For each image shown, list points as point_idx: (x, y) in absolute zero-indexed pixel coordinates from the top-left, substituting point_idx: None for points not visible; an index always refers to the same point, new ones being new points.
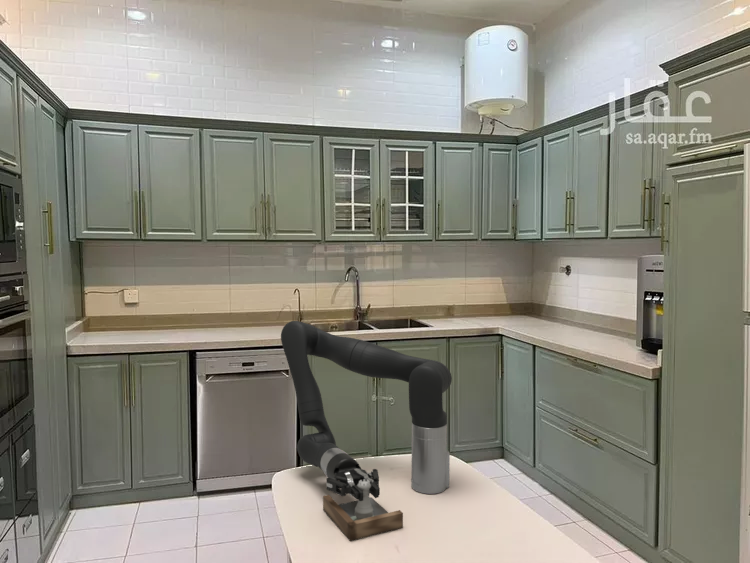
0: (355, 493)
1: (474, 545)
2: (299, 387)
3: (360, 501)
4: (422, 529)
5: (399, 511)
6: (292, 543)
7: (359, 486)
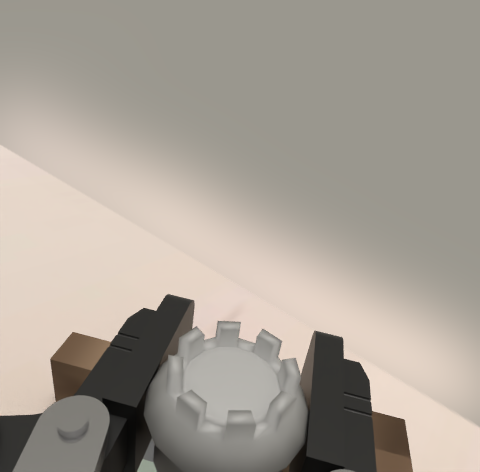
0: (366, 389)
1: (48, 217)
2: None
3: None
4: (35, 334)
5: (68, 350)
6: None
7: (299, 396)
